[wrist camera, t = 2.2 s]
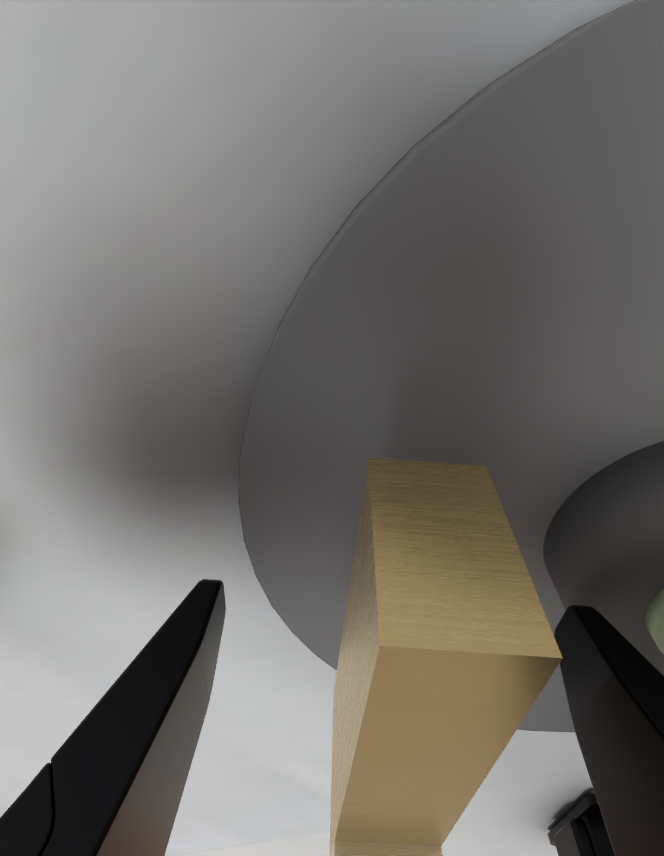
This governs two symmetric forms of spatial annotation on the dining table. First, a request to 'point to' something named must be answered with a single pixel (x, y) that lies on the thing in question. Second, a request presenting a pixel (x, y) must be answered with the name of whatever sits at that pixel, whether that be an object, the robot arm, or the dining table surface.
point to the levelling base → (489, 346)
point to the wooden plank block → (429, 656)
